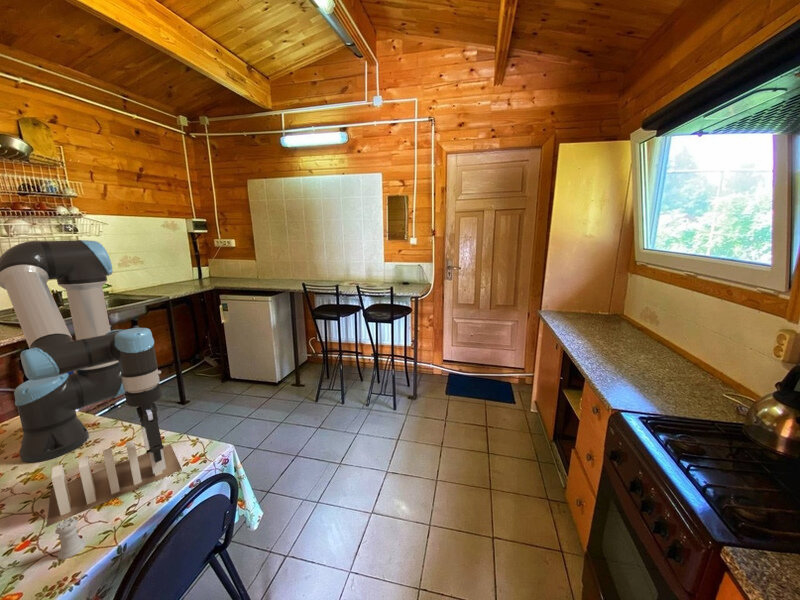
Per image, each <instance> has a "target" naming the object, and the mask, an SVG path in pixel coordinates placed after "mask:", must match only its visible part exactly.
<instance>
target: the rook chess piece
mask: <svg viewBox="0 0 800 600" xmlns="http://www.w3.org/2000/svg"><path fill="white" fill-rule="evenodd" d="M77 525H78V520H77V519H75V518H74V517H69V518H67V519H64V520H63V522H62V521H60V522H58V525H56V529H55V530H54V531H55V532H54V533H55V534H57V535H58V539H59V540H60V548H59V551H58V553H57V558H58V559H59V560H66V559H69V558H72V557H74V556H76V555H77V554H78V553H80V552H81V551H82V550H83V549H84V548H85V546H86V545H87V541H86V540H85V539H83V538H82V537H80V536H79V533H78V527H77Z"/></svg>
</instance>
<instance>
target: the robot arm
mask: <svg viewBox="0 0 800 600" xmlns="http://www.w3.org/2000/svg"><path fill="white" fill-rule="evenodd" d="M112 274H113V264H112V261H111V258H110V255H109V253H108V251H107V249H106V248H105V247H104V246H103V244H102V243H100V242H98V241H96V240H83V239H78V240H76V239H75V240H72V239H71V240H29V241H28V240H27V241H25V242H20V243H18V244H16V245H13V246H12V247H9V248H8V249H7V250H6V251H5V252H3V253H2V254H1V255H0V288H2V290H3V289H4V290H6V292H7V295H8V298H9V300H10V302H11V305H12V308H13V310H14V312H15V315H16V318H17V320H18V323H19V325H20V328H21V330H22V332H23V336H24V338H25V341H26V343H27V345H28V348H29V349H25V350H22V351H21V352H20V354H19V355H20V360H21V365H22V369H23V372H24V374H25V376H26V378H27V379H28V380H26V381H24V382H23V383H21V384H19V385H18V386H17V387H16V388H15V389H14V392H13V394H14V400H15V401H14V406H16V407H17V411H18V416H19V420H20V424H21V428H22V432H23V436H22V440H21V446H20V449H19V456H20V460H21V462H24V463H38V462H39V463H40V462H43V461H48V460H52V459H54V458H57V457H61V456H63V455H65V453H66V454H68V453H70V452H72V451H74V450H76V449H78V448H79V446H80V447H81V446H82V445H84V444H85V443H86V442H88V440H89V438H90V434H89V431H88V429H87V427H86V426H85V425H84V424H83V422H82V421H81V420H80V419H79V418H78V415H77V412H76V410H79V409H82V408H85V407H88V406H91V405H95V404H98V403H101V402H104V401H107V400H112V399H115V398H117V397H120V396H122V395H124V396H125V402H126V405H127V406H128V407H130V408H133V407H134V408H135V409H136V412H137V416H138V418H139V423H140V427H141V431H142V439H143V443H144V448H145V450H146V453H150V458H151V464H152V470H153V474H154V473H157V472H159V471H162V470H164V469H166V465H165V459H164V453H163V447H165V446H164V445H163V440H162V435H161V431H160V427H159V417H158V408H157V405H156V403H155V402H157V401H159V400H160V399H161V398H162V397H163V392H162V391H163V390H162V386H161V384H160V380H161V379H160V375H161V374H162V370H159V369H158V363H157V356H156V349H155V339H154V337H153V333H152V331H151V329H150V328H147V327H133V328H128V329H127V328H126V329H113V330H111V327H110V321H109V316H108V311H107V305H106V299H105V294H104V289H103V287H104V286H105V284H106V283H108V279H107V278H108V276H111V275H112ZM50 280H56V283H57V285H58V287H61V288H62V289H64V290H65V291H66V296H67V301H68V305H69V310H70V316H71V320H72V325H73V328H74V335H75V340H73V337H72V335H71V332H70V330H69V329H68V327H67V323H66V322H65V320H64V318H63V316H62V314H61V312H60V309H59V307H58V304H57V302H56V301H55V299H54V296H53V293H52V292H51V289H50V288H49V285H48V284H47V283H48V281H50ZM72 372H74V373H72ZM87 439H88V440H87ZM147 439H148V440H147ZM84 442H85V443H84ZM83 443H84V444H83ZM148 443H149V445H148ZM77 447H78V448H77ZM149 448H150V449H149Z"/></svg>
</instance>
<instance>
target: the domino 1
mask: <svg viewBox="0 0 800 600" xmlns="http://www.w3.org/2000/svg"><path fill="white" fill-rule="evenodd" d="M51 481H52V482H51V483H52V485H53V488H54V490H55V494H56V498H57V502H58V506H59V510H60V515H64V514H66V513H69V512H70V509H71V499H70V495H69V490H68V486H67V482H68V481H67V479H66V474H65V470H64V465H63V464H62V463H61V464H58V465H55V466H53V467H52V471H51Z"/></svg>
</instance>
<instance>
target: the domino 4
mask: <svg viewBox="0 0 800 600" xmlns="http://www.w3.org/2000/svg"><path fill="white" fill-rule="evenodd" d="M125 446H126V450H127V457H128V460H129V462H130V468H131V473H132V478H133V482H134V485H136V484H138V483H141V482H142V480H141V474H140V469H139V464H138V458H137V457H138V453H137V448H136V444H135V441H134V440H133V439H131V440H130V441H127V442H125Z"/></svg>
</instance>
